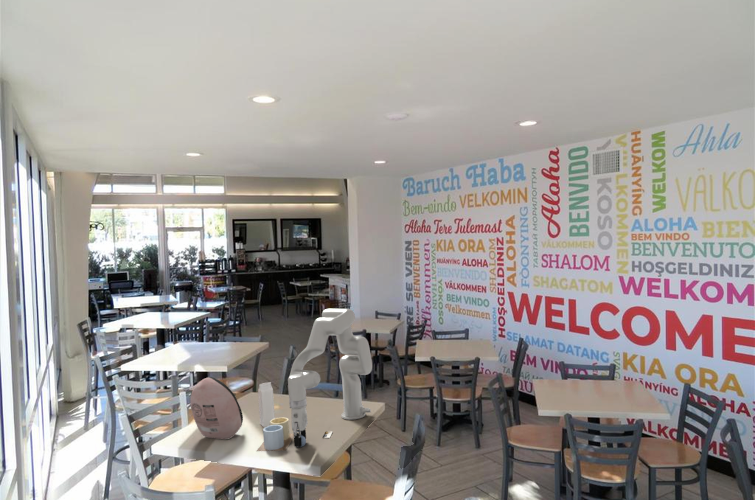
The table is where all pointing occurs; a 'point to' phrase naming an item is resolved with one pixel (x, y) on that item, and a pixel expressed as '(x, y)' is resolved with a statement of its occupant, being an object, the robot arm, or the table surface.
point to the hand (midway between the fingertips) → (300, 442)
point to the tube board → (288, 441)
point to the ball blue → (303, 440)
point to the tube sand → (284, 423)
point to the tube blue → (273, 437)
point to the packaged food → (215, 409)
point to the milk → (266, 403)
